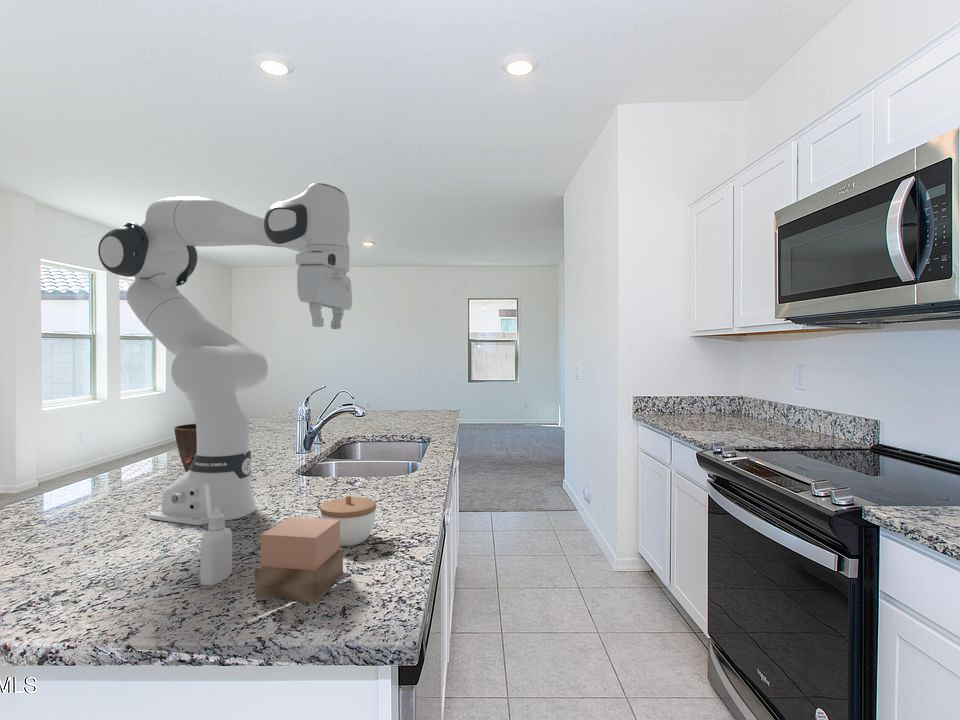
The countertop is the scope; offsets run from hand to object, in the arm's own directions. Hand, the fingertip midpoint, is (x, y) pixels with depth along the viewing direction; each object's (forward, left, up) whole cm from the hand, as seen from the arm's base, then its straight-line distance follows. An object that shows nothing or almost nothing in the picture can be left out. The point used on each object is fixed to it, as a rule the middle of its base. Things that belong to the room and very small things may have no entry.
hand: (327, 328), depth 112 cm
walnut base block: (+7, -26, -43) cm, 51 cm away
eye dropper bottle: (-8, -26, -43) cm, 51 cm away
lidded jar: (+7, -6, -43) cm, 44 cm away
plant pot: (-56, +39, -43) cm, 80 cm away
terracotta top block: (+7, -26, -38) cm, 47 cm away
